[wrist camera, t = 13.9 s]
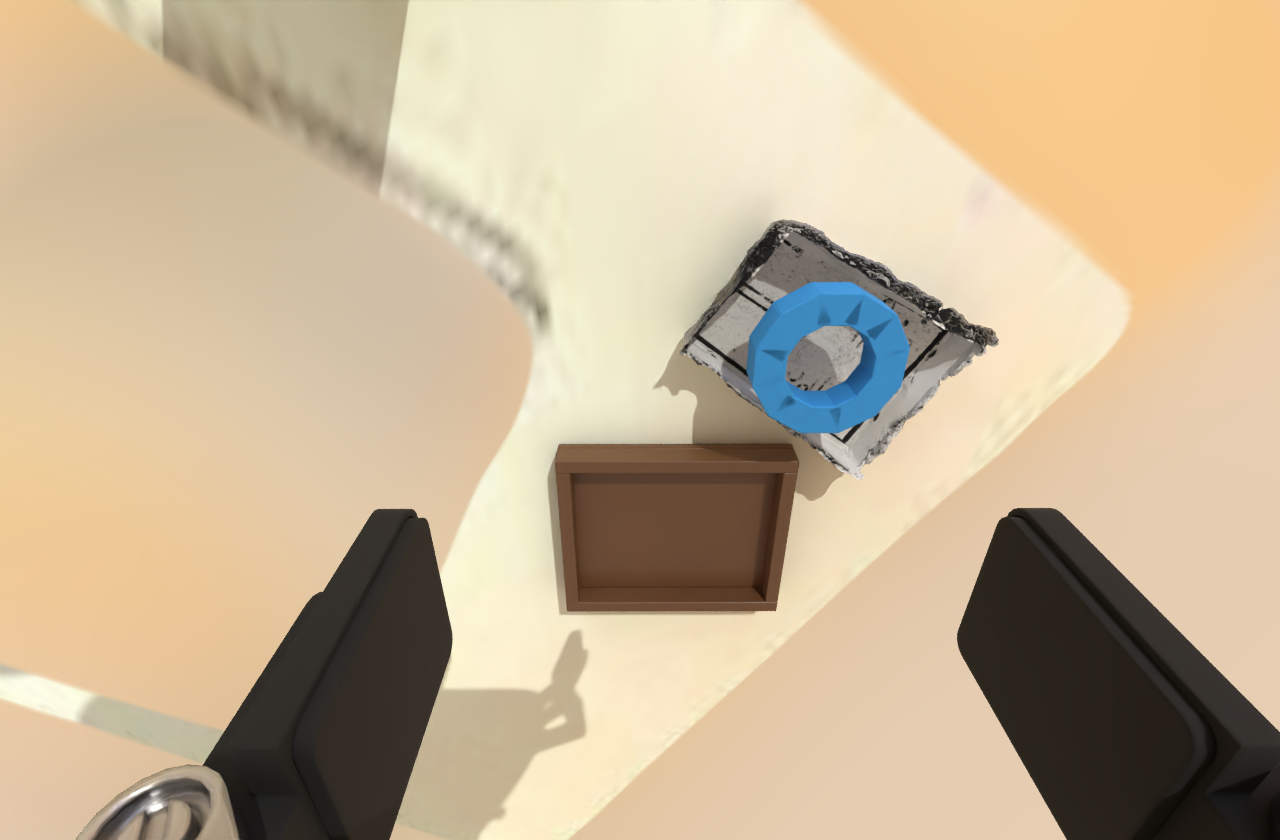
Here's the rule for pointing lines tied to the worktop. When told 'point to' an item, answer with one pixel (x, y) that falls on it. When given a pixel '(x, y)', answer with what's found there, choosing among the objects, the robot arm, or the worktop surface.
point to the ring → (863, 386)
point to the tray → (674, 525)
